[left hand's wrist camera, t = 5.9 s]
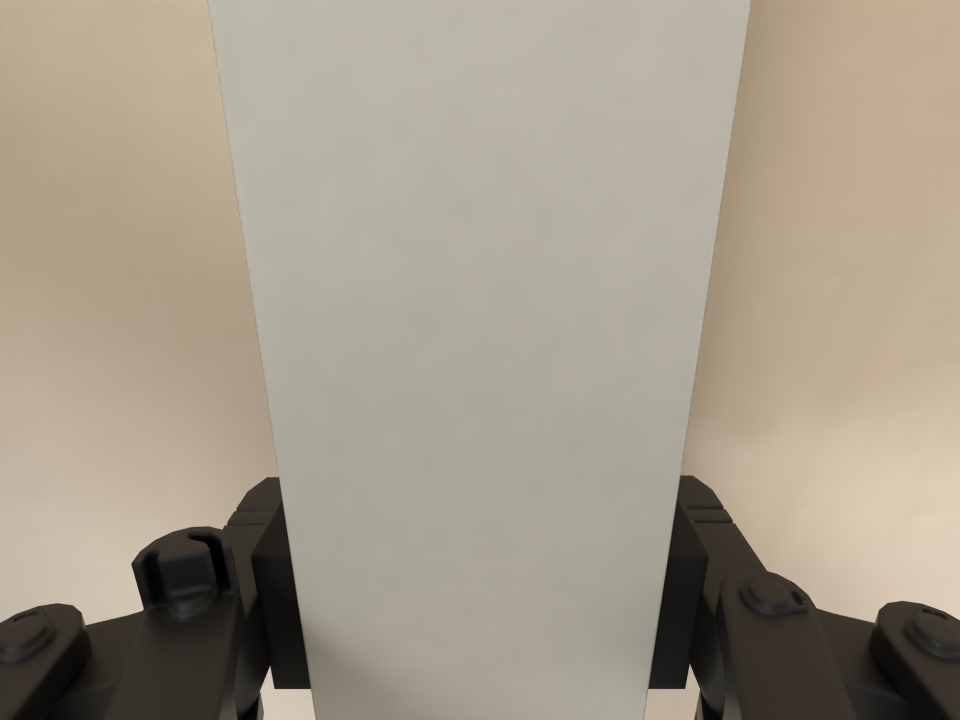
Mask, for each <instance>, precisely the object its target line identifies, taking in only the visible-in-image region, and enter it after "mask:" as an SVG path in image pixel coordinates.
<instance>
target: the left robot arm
mask: <svg viewBox="0 0 960 720" xmlns="http://www.w3.org/2000/svg"><path fill="white" fill-rule="evenodd" d="M131 564H132V568H133V571H134V575H135V579H136V582H137V586H138V589H139V593H140V596H141V600H142V604H143V607H144V610H143V611H141V612H138V613H134V614H131V615H128V616H123V617H119V618H115V619H111V620H106V621H102V622H98V623H94V624H90V625H85V622H84V619H83V616H82V613H81V612H80V611H79V610H78V609H76V608H75V607H74V606H73V605H66V604H59V603H56V604H50V605H43V606H37V607H35V608H32V609H29V610H26V611H24V612H21V613H18V614H16V615H14V616H12V617H10V618H8V619H7V620H5V621H3V622H1V623H0V720H263V715H264V711H263V704H262V698H261V693H260V689H261V687H262V684H263V682H264V679H265V677H266V674H267V672H268V670H269V667H271V672H272V677H273V683H274V688H275V689H311V685H310V678H309V671H308V665H307V658H306V652H305V645H304V638H303V632H302V625H301V618H300V612H299V605H298V599H297V592H296V585H295V579H294V572H293V565H292V559H291V552H290V545H289V539H288V532H287V526H286V519H285V512H284V506H283V499H282V492H281V486H280V479H279V477H267V478H266V479H264V480H263V481H262V482H260V483H259V484H258V485H256V486H255V487H253V488H252V489H251V490H249V491H248V492H247V494H246V495H245V497H244V498H243V500H242V501H241V503H240V504H239V505H238V507H237V511H234V513H233V514H232V516H231V517H230V519H229V520H228V524H227V525H225V526H224V528H223V529H222V530H221V529H217V528H213V527H209V526H206V527H190V528H186V529H182V530H178V531H175V532H172V533H169V534H167V535H165V536H163V537H161V538H159V539H157V540H155V541H153V542H152V543H151V544H149V545H148V546H147V547H145V548H144V549H143V550H141V551H140V552H139V554H138V555H137V557H136V558H135V559H134V561H133V562H132V563H131ZM689 665H691V668H692V670H693V673H694V675H695V677H696V680H697V682H698V685H699V687H700V693H699V698H698V703H697V708H696V713H695V718H694V720H960V620H958V619H956V618H955V617H953V616H951V615H949V614H947V613H946V612H944V611H941V610H938V609H935V608H932V607H930V606H927V605H924V604H920V603H913V602H906V601H899V602H892V603H887V604H886V605H885V606H884V607H882V608H881V609H880V610H879V612H878V615H877V618H876V621H875V623H872V622H868V621H863V620H859V619H855V618H851V617H846V616H842V615H838V614H833V613H830V612H827V611H823V610H820V609H817V608H816V607H815V605H814V604H813V602H812V600H811V599H810V597H809V596H808V594H806V593H805V592H804V591H803V590H802V589H801V588H799V587H798V586H797V585H796V584H795V583H793V582H791V581H789V580H787V579H786V578H784V577H782V576H780V575H778V574H775V573H772V572H768V571H767V570H766V569H765V567H764V566H763V564H762V563H761V562H760V560H759V559H758V557H757V556H756V554H755V553H754V551H753V550H752V548H751V547H750V545H749V544H748V542H747V541H746V539H745V538H744V536H743V535H742V533H741V532H740V530H739V529H738V527H737V526H736V524H733V520H732V518H731V517H730V516H729V514H728V513H727V511H726V510H724V509H723V505H722V504H721V502H720V501H719V499H718V498H717V496H716V495H715V493H714V492H713V490H712V489H710V488H709V487H708V486H706V485H705V484H704V483H702V482H701V481H699V480H698V479H697V478H695V477H694V476H680V480H679V487H678V494H677V500H676V507H675V514H674V520H673V527H672V533H671V540H670V547H669V553H668V560H667V567H666V573H665V580H664V587H663V593H662V600H661V607H660V613H659V620H658V627H657V633H656V640H655V647H654V653H653V660H652V667H651V673H650V680H649V687H648V689H685V686H686V681H687V676H688V670H689Z"/></svg>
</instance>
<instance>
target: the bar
mask: <svg viewBox="0 0 960 720" xmlns="http://www.w3.org/2000/svg"><path fill="white" fill-rule="evenodd" d="M751 1H752V0H207V2H208V8H209V15H210V22H211V28H212V35H213V42H214V48H215V55H216V62H217V68H218V75H219V81H220V88H221V95H222V101H223V108H224V115H225V121H226V128H227V134H228V141H229V148H230V154H231V161H232V168H233V174H234V181H235V187H236V194H237V201H238V207H239V214H240V221H241V227H242V234H243V241H244V247H245V254H246V260H247V267H248V274H249V280H250V287H251V294H252V300H253V307H254V313H255V320H256V327H257V333H258V340H259V347H260V353H261V360H262V366H263V373H264V380H265V386H266V393H267V400H268V406H269V413H270V420H271V426H272V433H273V439H274V446H275V453H276V459H277V466H278V473H279V479H280V486H281V492H282V499H283V506H284V512H285V519H286V526H287V532H288V539H289V545H290V552H291V559H292V565H293V572H294V579H295V585H296V592H297V599H298V605H299V612H300V618H301V625H302V632H303V638H304V645H305V652H306V658H307V665H308V671H309V678H310V685H311V691H312V698H313V705H314V711H315V718H316V720H644V713H645V707H646V700H647V693H648V687H649V680H650V673H651V667H652V660H653V653H654V647H655V640H656V633H657V627H658V620H659V613H660V607H661V600H662V593H663V587H664V580H665V573H666V567H667V560H668V553H669V547H670V540H671V533H672V527H673V520H674V514H675V507H676V500H677V494H678V487H679V480H680V474H681V467H682V460H683V454H684V447H685V440H686V434H687V427H688V420H689V414H690V407H691V400H692V394H693V387H694V380H695V374H696V367H697V360H698V354H699V347H700V340H701V334H702V327H703V320H704V314H705V307H706V300H707V294H708V287H709V280H710V274H711V267H712V261H713V254H714V247H715V241H716V234H717V227H718V221H719V214H720V207H721V201H722V194H723V187H724V181H725V174H726V167H727V161H728V154H729V147H730V141H731V134H732V127H733V121H734V114H735V107H736V101H737V94H738V87H739V81H740V74H741V67H742V61H743V54H744V47H745V41H746V34H747V28H748V21H749V14H750V8H751Z"/></svg>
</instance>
